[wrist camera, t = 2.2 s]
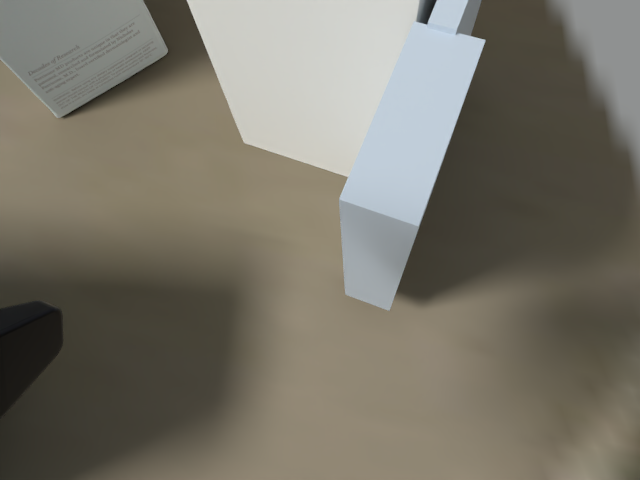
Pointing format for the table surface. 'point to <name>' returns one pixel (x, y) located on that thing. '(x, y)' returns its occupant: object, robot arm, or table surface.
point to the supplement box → (76, 46)
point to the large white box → (306, 69)
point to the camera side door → (406, 150)
